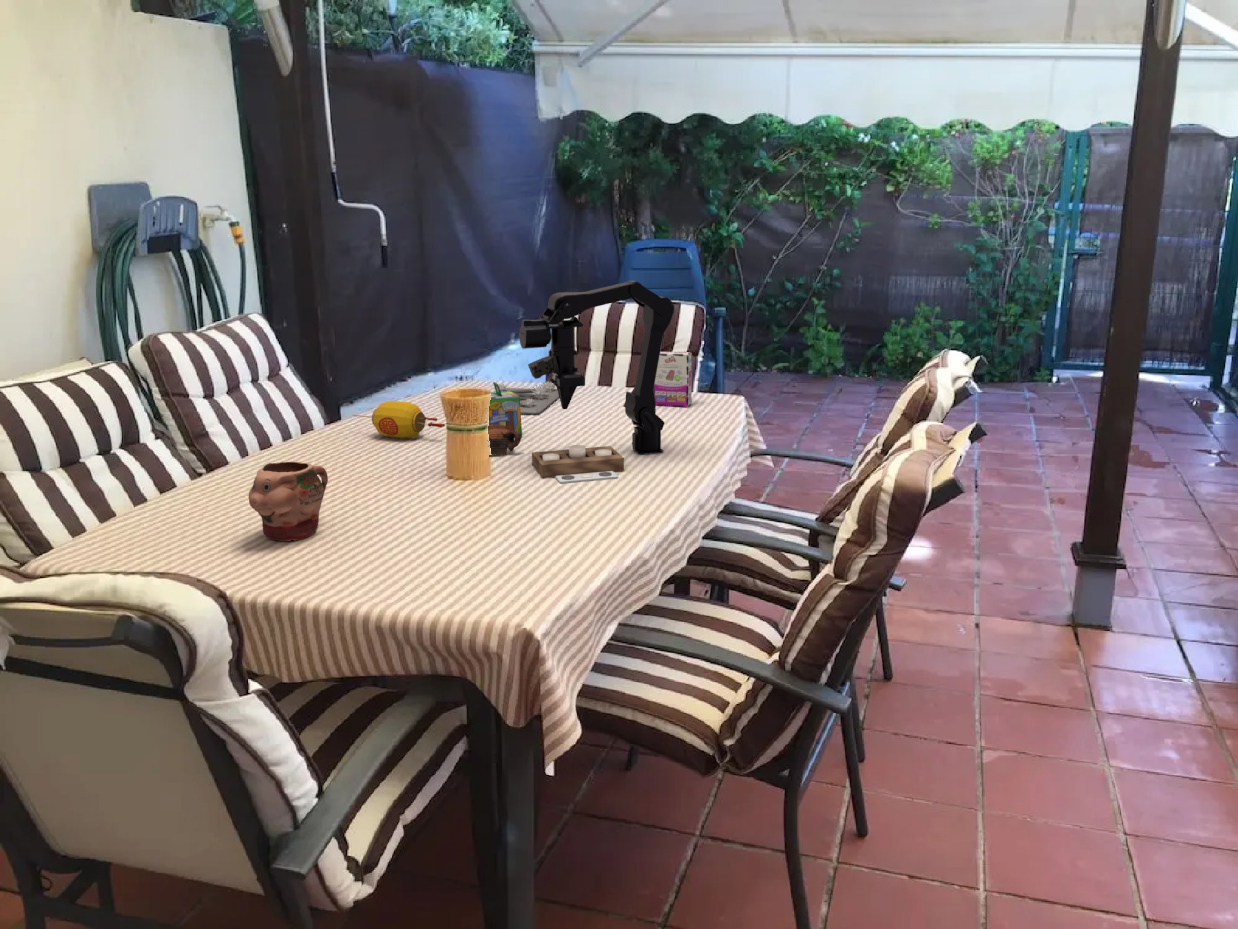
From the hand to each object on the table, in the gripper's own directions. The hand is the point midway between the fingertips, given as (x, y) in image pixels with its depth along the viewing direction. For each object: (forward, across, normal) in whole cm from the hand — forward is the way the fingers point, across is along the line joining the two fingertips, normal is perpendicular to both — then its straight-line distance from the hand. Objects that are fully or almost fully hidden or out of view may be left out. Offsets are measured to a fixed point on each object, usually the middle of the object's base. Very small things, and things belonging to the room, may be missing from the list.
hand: (564, 408), depth 251 cm
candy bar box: (+13, -52, +46) cm, 71 cm away
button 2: (+12, +8, +7) cm, 17 cm away
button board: (+13, +8, +1) cm, 15 cm away
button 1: (+12, +8, -6) cm, 16 cm away
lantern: (+13, -37, -38) cm, 55 cm away
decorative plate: (+14, -69, +1) cm, 70 cm away
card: (+13, +17, +1) cm, 21 cm away
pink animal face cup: (+13, +36, -64) cm, 75 cm away
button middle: (+11, +8, +1) cm, 13 cm away
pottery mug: (+13, -13, -14) cm, 23 cm away
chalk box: (+13, -30, -11) cm, 35 cm away
